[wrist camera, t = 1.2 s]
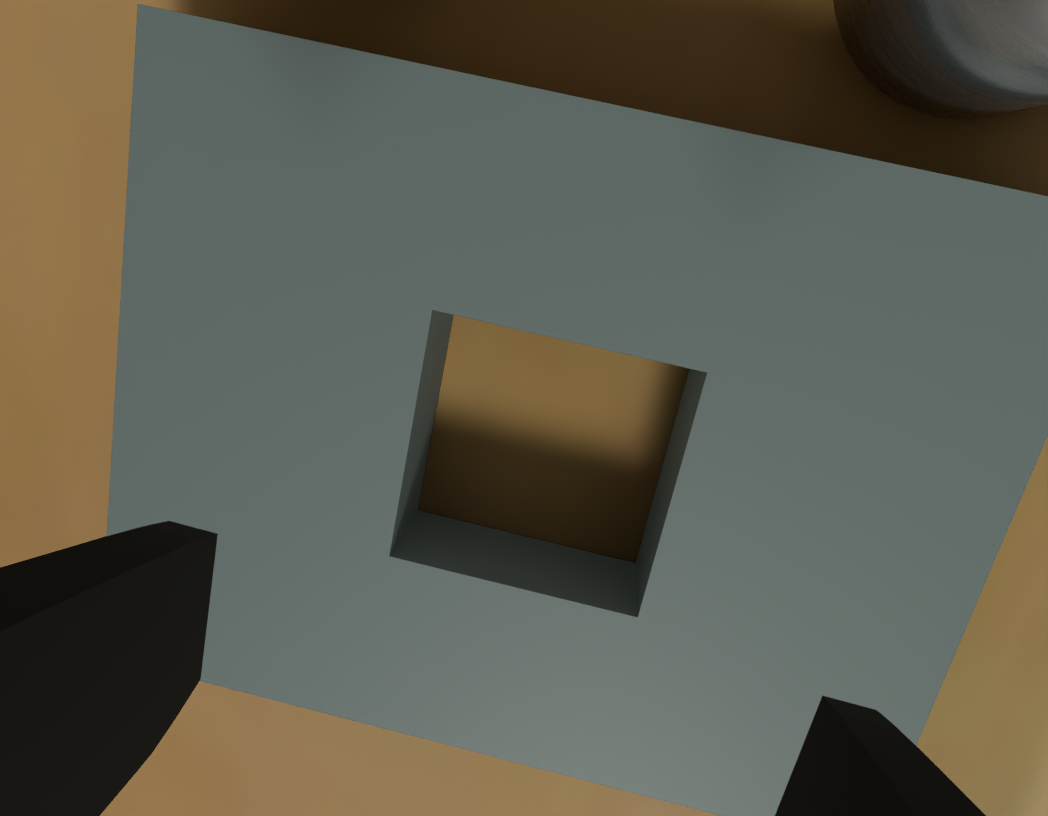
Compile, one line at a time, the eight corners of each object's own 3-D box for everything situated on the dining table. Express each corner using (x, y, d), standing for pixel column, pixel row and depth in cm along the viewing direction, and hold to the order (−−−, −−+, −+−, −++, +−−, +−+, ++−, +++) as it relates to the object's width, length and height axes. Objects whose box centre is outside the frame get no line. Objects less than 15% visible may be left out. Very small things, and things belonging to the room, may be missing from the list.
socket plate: (159, 601, 21) (99, 655, 18) (206, 29, 17) (138, 3, 14) (840, 773, 20) (869, 854, 18) (1062, 211, 16) (1140, 216, 13)
